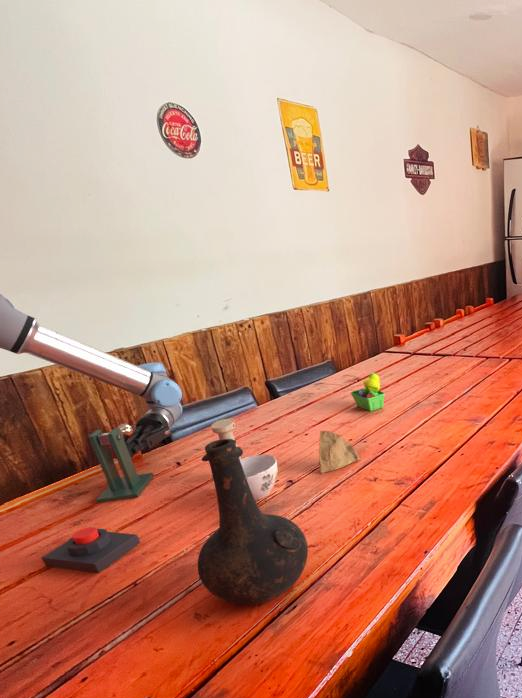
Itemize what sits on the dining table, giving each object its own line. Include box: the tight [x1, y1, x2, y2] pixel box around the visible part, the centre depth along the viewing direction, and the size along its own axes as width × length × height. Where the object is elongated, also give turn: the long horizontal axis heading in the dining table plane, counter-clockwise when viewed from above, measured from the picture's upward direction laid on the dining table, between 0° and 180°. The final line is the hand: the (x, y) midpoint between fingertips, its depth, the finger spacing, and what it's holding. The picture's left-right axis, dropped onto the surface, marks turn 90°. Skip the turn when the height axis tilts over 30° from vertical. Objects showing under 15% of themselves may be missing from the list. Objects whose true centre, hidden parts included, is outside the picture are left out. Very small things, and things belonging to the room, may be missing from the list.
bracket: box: [88, 427, 155, 504], centre depth 125 cm, size 12×9×16 cm
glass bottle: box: [197, 439, 309, 606], centre depth 86 cm, size 18×18×28 cm
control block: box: [41, 528, 141, 574], centre depth 103 cm, size 13×10×4 cm
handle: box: [210, 418, 242, 459], centre depth 129 cm, size 5×6×15 cm
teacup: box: [240, 454, 278, 501], centre depth 120 cm, size 15×12×8 cm
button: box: [71, 526, 99, 545], centre depth 101 cm, size 4×4×2 cm
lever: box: [98, 423, 134, 446], centre depth 128 cm, size 13×4×4 cm, turn 13°
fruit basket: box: [350, 372, 386, 412], centre depth 175 cm, size 11×9×11 cm
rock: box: [318, 430, 361, 475], centre depth 134 cm, size 11×9×10 cm
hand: (123, 457), depth 130 cm, fingers closed
